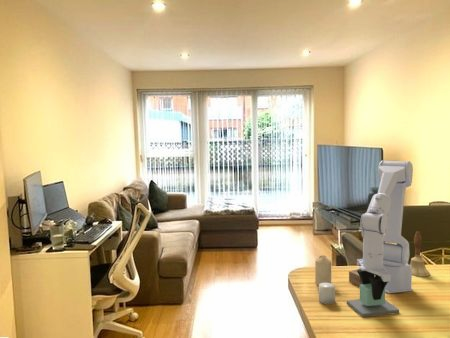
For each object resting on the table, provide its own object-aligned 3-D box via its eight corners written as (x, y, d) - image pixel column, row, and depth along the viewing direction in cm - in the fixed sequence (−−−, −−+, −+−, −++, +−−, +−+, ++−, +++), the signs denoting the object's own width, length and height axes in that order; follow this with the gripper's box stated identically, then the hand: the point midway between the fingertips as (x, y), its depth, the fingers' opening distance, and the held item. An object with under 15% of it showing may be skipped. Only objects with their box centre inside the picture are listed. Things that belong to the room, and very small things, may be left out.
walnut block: (359, 279, 136) (359, 268, 135) (369, 284, 131) (370, 273, 131) (348, 281, 133) (349, 271, 133) (359, 286, 129) (359, 275, 129)
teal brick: (377, 298, 115) (377, 282, 114) (385, 303, 111) (385, 287, 110) (359, 300, 114) (359, 284, 113) (366, 306, 110) (367, 289, 109)
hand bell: (401, 272, 141) (402, 232, 140) (410, 267, 147) (411, 228, 145) (425, 278, 135) (426, 236, 134) (433, 272, 141) (434, 231, 139)
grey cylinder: (330, 296, 121) (330, 282, 121) (337, 303, 116) (337, 288, 116) (316, 298, 120) (316, 283, 120) (323, 304, 115) (323, 289, 115)
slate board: (381, 300, 118) (381, 297, 118) (399, 312, 109) (399, 309, 109) (346, 303, 116) (346, 300, 116) (362, 317, 107) (362, 313, 107)
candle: (331, 287, 129) (332, 259, 128) (315, 286, 130) (315, 258, 129) (330, 281, 134) (330, 254, 133) (315, 280, 135) (315, 253, 134)
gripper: (348, 246, 117) (348, 287, 118) (375, 261, 103) (374, 307, 104) (368, 244, 119) (368, 285, 120) (397, 259, 104) (396, 305, 105)
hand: (372, 295), depth 112 cm, fingers open, 4 cm apart
